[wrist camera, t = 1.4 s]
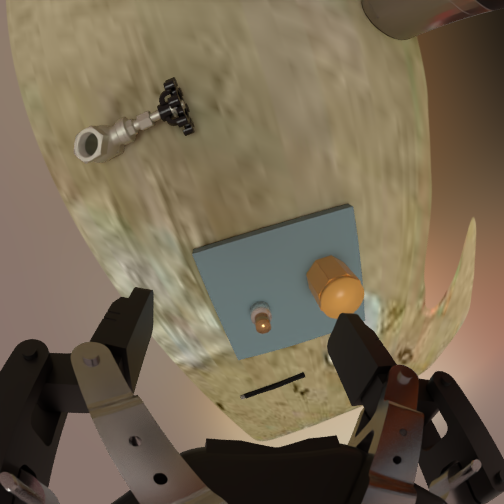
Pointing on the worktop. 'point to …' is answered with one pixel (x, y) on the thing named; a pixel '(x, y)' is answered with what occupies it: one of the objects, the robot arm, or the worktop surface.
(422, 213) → the worktop surface
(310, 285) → the cap
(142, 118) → the valve
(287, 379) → the black thin rod
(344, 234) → the board
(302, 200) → the worktop surface
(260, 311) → the peg
